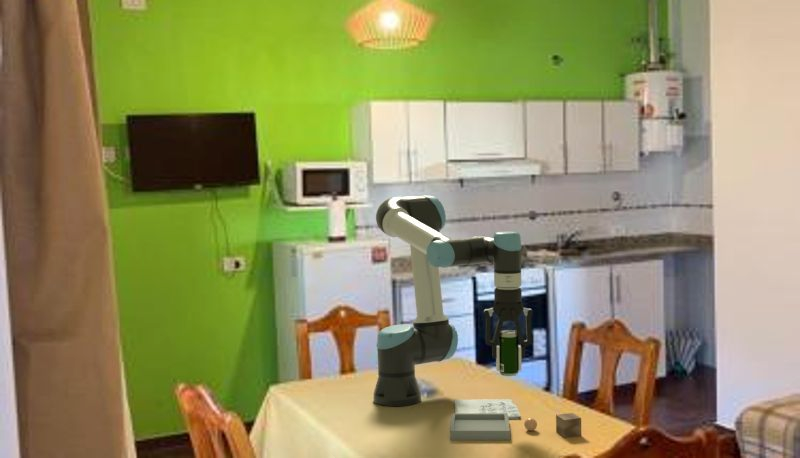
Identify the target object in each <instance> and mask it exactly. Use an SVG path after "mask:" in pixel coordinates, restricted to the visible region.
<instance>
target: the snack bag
mask: <svg viewBox="0 0 800 458" xmlns="http://www.w3.org/2000/svg"><path fill="white" fill-rule="evenodd" d="M453 402H454V409H455V413H508V420H519V419H520V418H522V415H521V413H520V412H519V409H518V404H515V403H513V400H512V399H510V398H509V399H507V398H497V399H496V398H495V399H494V398H493V399H492V398H491V399H489V398H488V399H482V398H481V399H457V398H455V399H454V401H453Z"/></svg>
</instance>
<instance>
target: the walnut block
mask: <svg viewBox="0 0 800 458" xmlns="http://www.w3.org/2000/svg"><path fill="white" fill-rule="evenodd" d="M555 425H556V428H555V431H556V434H558V435H559V436H561V437H562V438H564V439H567V438H575V437H582V417H581V416H579V415H578V414H576V413H574V412H570V413H560V414H559V413H558V414H555Z"/></svg>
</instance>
